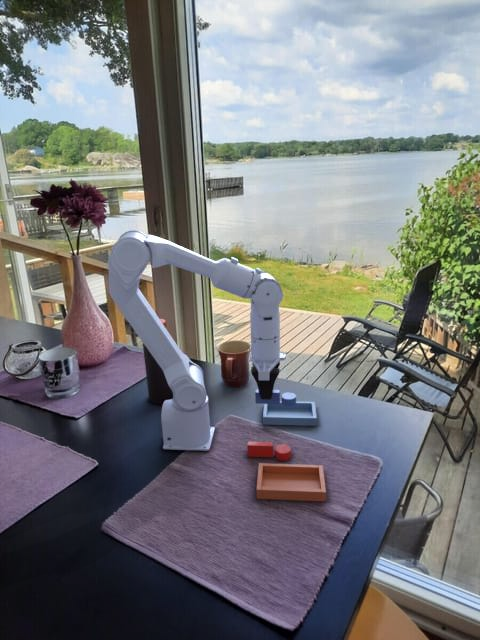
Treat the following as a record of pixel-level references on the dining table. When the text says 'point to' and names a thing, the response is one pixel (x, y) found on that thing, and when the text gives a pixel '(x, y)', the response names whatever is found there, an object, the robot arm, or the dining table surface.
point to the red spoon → (268, 450)
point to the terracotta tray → (291, 482)
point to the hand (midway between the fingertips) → (266, 396)
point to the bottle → (156, 378)
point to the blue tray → (290, 414)
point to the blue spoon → (277, 398)
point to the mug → (234, 363)
